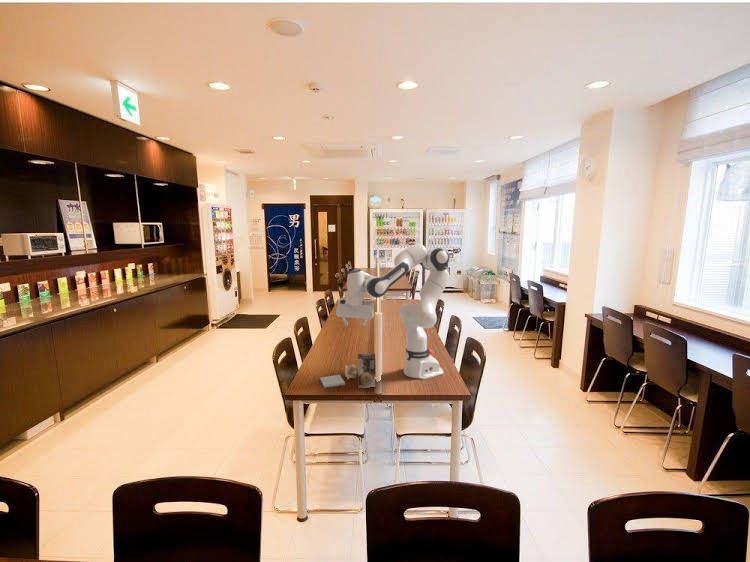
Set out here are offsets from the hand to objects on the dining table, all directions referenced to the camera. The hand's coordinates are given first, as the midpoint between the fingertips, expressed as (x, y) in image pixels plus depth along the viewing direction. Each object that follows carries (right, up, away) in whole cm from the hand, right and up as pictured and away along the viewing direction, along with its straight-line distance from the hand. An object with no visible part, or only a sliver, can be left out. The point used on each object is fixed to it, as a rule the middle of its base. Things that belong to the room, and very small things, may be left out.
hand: (354, 325), depth 187 cm
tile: (-12, -30, 0) cm, 32 cm away
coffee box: (+7, -31, -4) cm, 32 cm away
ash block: (-3, -29, +6) cm, 30 cm away
